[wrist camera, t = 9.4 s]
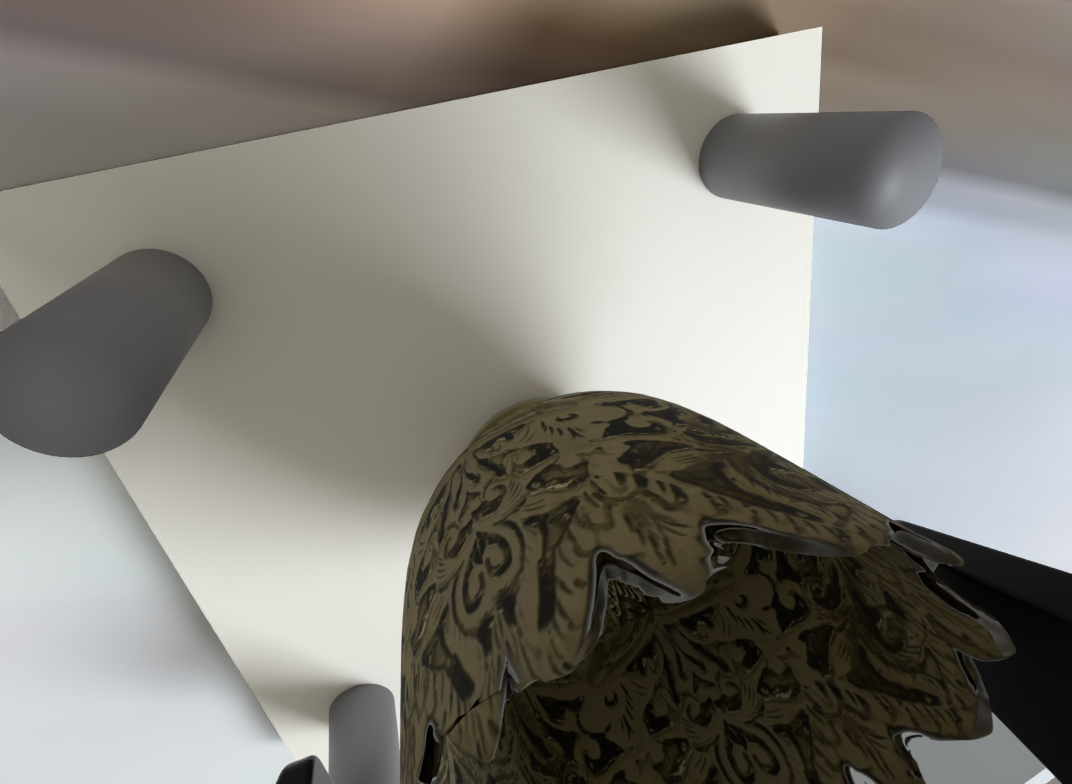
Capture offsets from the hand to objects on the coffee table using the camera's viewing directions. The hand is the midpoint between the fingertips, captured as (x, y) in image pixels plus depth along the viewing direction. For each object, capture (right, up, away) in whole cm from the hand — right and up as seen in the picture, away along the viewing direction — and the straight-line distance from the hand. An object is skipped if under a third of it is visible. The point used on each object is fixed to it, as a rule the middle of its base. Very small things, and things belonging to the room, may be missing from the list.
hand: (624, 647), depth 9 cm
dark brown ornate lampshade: (-1, +2, +5) cm, 6 cm away
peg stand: (-2, +3, +6) cm, 7 cm away
